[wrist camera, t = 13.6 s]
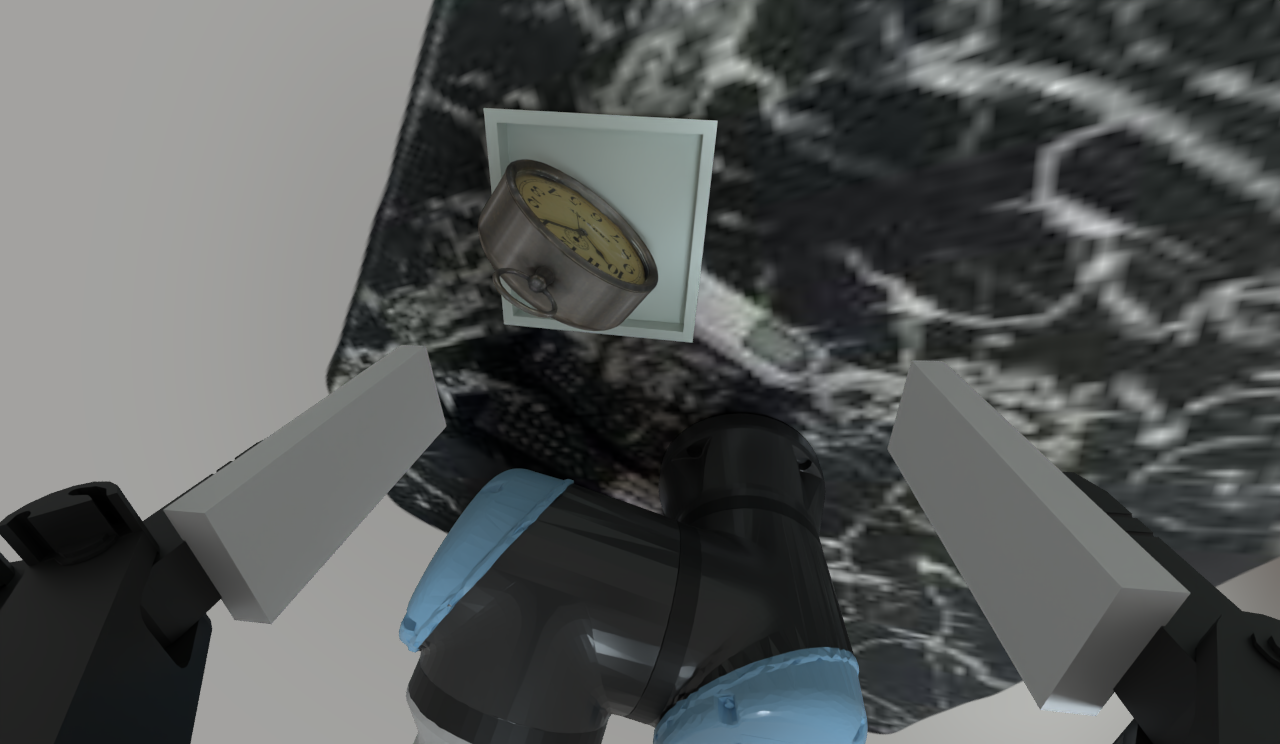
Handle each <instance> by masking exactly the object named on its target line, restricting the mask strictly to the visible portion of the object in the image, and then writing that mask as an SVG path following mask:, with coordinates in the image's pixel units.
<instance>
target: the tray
mask: <svg viewBox="0 0 1280 744" xmlns="http://www.w3.org/2000/svg"><path fill="white" fill-rule="evenodd" d="M484 118H485V129H486V139H487V150H488V160H489V170H490V181H491V191H492V193H493V192H494V190H495V188H496V187H497V185H498V183H499V182H500V180H501V178H502V177H503V175H504V173H505V170H506V168H507V166H508V165H509V164H510V163H511V162H513V161H516V160H521V159H530V160H535V161H539V162H543V163H545V164H548V165H550V166H552V167H554V168H556V169H559V170H560V171H562V172H564V173H565V174H567V175H569V176H571V177H572V178H574V179H576V180H577V181H579V182H580V183H582V184H583V185H585V186H586V187H588V188H589V189H591V190H592V191H593V192H595V193H596V194H597V195H598V196H600V197H601V198H602V199H603V200H604V201H606V202H607V203H608V204H609V205H610V206H611V207H612V208H613V209H615V210H616V211H617V212H618V213H619V214H620V215H621V216H622V217H623V218H624V219H625V220H626V221H627V222H628V223H629V224H630V226H631V227H632V228H633V229H634V230H635V231H636V233H637V234H638V235H639V236H640V238H641V239H642V240H643V242H644V243H645V244H646V246H647V248H648V249H649V251H650V253H651V254H652V256H653V258H654V260H655V263H656V266H657V269H658V283H657V285H656V287H655V288H654V289H653V290H652V291H651V292H650V293H649V294H648V295H647V297H646V298H645V299H644V300H643V301H642V302H641V303H640V304H639V305H638V306H637V308H636V309H635V310H634V311H633V312H632V313H631V314H630V315H629V316H628V317H627V318H626V319H625V320H624V322H623V323H621V324H620V325H619V326H617V327H615V328H612V329H609V330H605V331H588V330H583V329H578V328H574V327H571V326H568V325H566V324H563V323H561V322H559V321H557V320H555V319H553V318H541V317H537V316H533V315H531V314H529V313H526V312H524V311H523V310H521V309H519V308H517V307H516V306H514V305H513V304H511V303H510V302H509V301H507V300H506V299H505V298H504V297H503V296H502V295H501V296H502V306H503V316H504V324H506V325H516V326H526V327H537V328H547V329H557V330H567V331H578V332H588V333H598V334H609V335H619V336H629V337H640V338H650V339H660V340H670V341H681V342H691V343H692V342H693V334H694V325H695V316H696V307H697V298H698V289H699V281H700V272H701V263H702V254H703V245H704V237H705V228H706V219H707V210H708V201H709V193H710V184H711V175H712V166H713V157H714V148H715V140H716V131H717V122H718V121H713V120H695V119H677V118H658V117H640V116H622V115H603V114H585V113H567V112H548V111H530V110H512V109H493V108H484ZM500 281H501V284H502V286H503V287H504V288H505V289H506V291H507V292H508V293H509V294H510V295H511V296H512V297H514V298H515V299H517V300H518V301H520V302H522V303H523V304H525V305H527V306H528V307H530V308H533V309H536V308H534V307H533V306H531V305H530V304H529V303H527V302H526V301H525V300H524V299H522V298H521V297H520V296H519V295H518V294H517V293H516V292H514V291H513V290H512V289H511V288H510V287H509V286H508V285H507V284H506V282H505V281H504V280H503V279H502V278H501V277H500ZM536 310H537V309H536Z"/></svg>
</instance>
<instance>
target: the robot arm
mask: <svg viewBox="0 0 1280 744" xmlns="http://www.w3.org/2000/svg"><path fill="white" fill-rule="evenodd" d="M445 427H446V423H445V419H444V415H443V411H442V407H441V404H440V400H439V396H438V392H437V388H436V384H435V380H434V376H433V372H432V368H431V364H430V361H429V357H428V353H427V349H426V346H413V345H400V346H399V347H398V348H396V349H395V350H393V351H392V352H390V353H389V354H387V355H386V356H385V357H383V358H382V359H380V360H379V361H377V362H376V363H374V364H373V365H372V366H370V367H369V368H367V369H366V370H364V371H363V372H361V373H360V374H358V375H357V376H356V377H354V378H353V379H351V380H350V381H348V382H347V383H345V384H344V385H343V386H341V387H340V388H338V389H337V390H335V391H334V392H332V393H331V394H330V395H328V396H327V397H326V398H324V399H322V400H321V401H319V402H318V403H317V404H315V405H314V406H312V407H311V408H309V409H308V410H306V411H305V412H304V413H302V414H301V415H299V416H298V417H296V418H295V419H294V420H292V421H291V422H289V423H288V424H286V425H285V426H284V427H282V428H281V429H279V430H278V431H276V432H275V433H273V434H272V435H270V436H269V437H267V438H266V439H264V440H262V441H260V442H258V443H256V444H255V445H253V446H252V447H250V448H249V449H247V450H246V451H244V452H243V453H241V454H240V455H239V456H237V457H236V458H235V460H234V461H230V462H228V463H227V464H225V465H224V466H222V467H221V468H220V469H218V470H217V473H215V474H211V475H209V476H208V477H206V478H205V479H204V480H202V481H201V482H199V483H198V484H196V485H195V486H193V487H192V488H191V489H189V490H188V491H186V492H185V493H183V494H182V495H180V496H179V497H177V498H176V499H175V500H173V501H172V502H170V503H169V504H167V505H166V506H164V507H163V508H161V509H160V510H159V511H157V512H156V513H154V514H153V515H151V516H150V517H148V518H147V519H146V520H144V521H142V520H141V519H140V517H139V516H138V514H137V513H136V512H135V510H134V509H133V507H132V506H131V504H130V503H129V502H128V500H127V498H125V496H124V494H123V493H122V491H121V490H120V488H119V487H118V486H117V485H116V484H114V483H111V482H91V483H86V484H81V485H76V486H72V487H69V488H66V489H63V490H60V491H57V492H54V493H51V494H49V495H47V496H44V497H42V498H40V499H38V500H35V501H33V502H31V503H29V504H27V505H25V506H23V507H22V508H20V509H18V510H17V511H15V512H13V513H12V514H10V515H8V516H7V517H6V518H5V519H3V520H2V521H1V522H0V535H1V536H2V537H3V538H4V539H5V540H6V541H7V542H8V544H9V545H10V546H11V547H12V548H13V549H14V550H15V551H16V553H17V554H18V555H19V556H20V557H21V558H22V559H23V560H22V561H16V562H9V561H8V560H7V559H6V558H5V557H4V556H3V555H2V554H1V553H0V744H190V743H191V737H192V732H193V727H194V722H195V716H196V711H197V706H198V701H199V695H200V690H201V685H202V679H203V674H204V669H205V664H206V658H207V653H208V648H209V642H210V637H211V632H212V625H211V620H210V619H209V617H208V616H207V615H206V612H207V611H208V610H209V609H211V607H212V606H214V605H215V604H216V603H217V602H218V601H219V600H220V599H221V600H222V601H223V603H224V604H225V606H226V607H227V609H228V610H229V612H230V613H231V615H232V616H233V618H234V619H235V620H240V621H249V622H258V623H267V624H272V623H273V621H274V620H275V619H276V618H277V617H278V616H279V615H280V613H281V612H282V611H283V610H284V609H285V608H286V607H287V606H288V604H289V603H290V602H291V601H292V600H293V599H294V598H295V597H296V595H297V594H298V593H299V592H300V591H301V590H302V589H303V588H304V586H305V585H306V584H307V583H308V582H309V581H310V580H311V579H312V577H313V576H314V575H315V574H316V573H317V572H318V570H319V569H320V568H321V567H322V566H323V565H324V564H325V563H326V561H327V560H328V559H329V558H330V557H331V556H332V555H333V554H334V553H335V551H336V550H337V549H338V548H339V547H340V546H341V545H342V543H343V542H344V541H345V540H346V539H347V538H348V537H349V536H350V534H351V533H352V532H353V531H354V530H355V529H356V528H357V527H358V525H359V524H360V523H361V522H362V521H363V520H364V519H365V518H366V516H367V515H368V514H369V513H370V512H371V511H372V510H373V509H374V507H375V506H376V505H377V504H378V503H379V502H380V501H381V499H382V498H383V497H384V496H385V495H386V494H387V493H388V492H389V490H390V489H391V488H392V487H393V486H394V485H395V484H396V483H397V481H398V480H399V479H400V478H401V477H402V476H403V475H404V474H405V472H406V471H407V470H408V469H409V468H410V467H411V466H412V464H413V463H414V462H415V461H416V460H417V459H418V458H419V457H420V455H421V454H422V453H423V452H424V451H425V450H426V449H427V448H428V446H429V445H430V444H431V443H432V442H433V441H434V440H435V439H436V437H437V436H438V435H439V434H440V433H441V432H442V431H443V429H444V428H445ZM888 451H889V453H890V454H891V456H892V458H893V459H894V461H895V463H896V465H897V466H898V468H899V470H900V471H901V473H902V475H903V476H904V478H905V480H906V482H907V483H908V485H909V487H910V488H911V490H912V492H913V493H914V495H915V497H916V499H917V500H918V502H919V504H920V505H921V507H922V509H923V511H924V512H925V514H926V516H927V517H928V519H929V521H930V522H931V524H932V526H933V528H934V529H935V531H936V533H937V534H938V536H939V538H940V539H941V541H942V543H943V545H944V546H945V548H946V550H947V551H948V553H949V555H950V557H951V558H952V560H953V562H954V563H955V565H956V567H957V568H958V570H959V572H960V574H961V575H962V577H963V579H964V580H965V582H966V584H967V585H968V587H969V589H970V591H971V592H972V594H973V596H974V597H975V599H976V601H977V603H978V604H979V606H980V608H981V609H982V611H983V613H984V614H985V616H986V618H987V620H988V621H989V623H990V625H991V626H992V628H993V630H994V632H995V633H996V635H997V637H998V638H999V640H1000V642H1001V643H1002V645H1003V647H1004V649H1005V650H1006V652H1007V654H1008V655H1009V657H1010V659H1011V660H1012V662H1013V664H1014V666H1015V667H1016V669H1017V671H1018V672H1019V674H1020V676H1021V678H1022V679H1023V681H1024V683H1025V684H1026V686H1027V688H1028V689H1029V691H1030V693H1031V695H1032V696H1033V698H1034V700H1035V701H1036V703H1037V705H1038V706H1039V708H1040V710H1047V711H1056V712H1065V713H1075V714H1083V715H1092V716H1096V715H1097V714H1098V713H1099V711H1100V710H1101V709H1102V707H1103V706H1104V705H1105V704H1106V702H1107V701H1108V700H1109V698H1110V697H1111V696H1112V694H1113V693H1114V692H1115V693H1116V694H1117V696H1118V697H1119V699H1120V700H1121V701H1122V703H1123V704H1124V705H1125V707H1126V708H1127V709H1128V711H1129V712H1130V713H1131V715H1132V716H1133V717H1134V719H1133V720H1132V721H1131V723H1130V724H1129V725H1128V726H1127V727H1126V729H1125V730H1124V731H1123V732H1122V733H1121V735H1120V736H1119V737H1118V738H1117V739H1116V740H1115V742H1114V743H1113V744H1280V620H1277V619H1275V618H1272V617H1269V616H1266V615H1263V614H1256V613H1250V612H1244V611H1241V610H1240V609H1239V608H1238V607H1237V606H1236V605H1235V604H1233V603H1232V602H1231V601H1230V600H1229V599H1227V597H1226V596H1224V595H1223V594H1222V593H1221V592H1220V591H1219V590H1218V589H1216V588H1215V587H1214V586H1213V585H1212V584H1211V583H1210V582H1209V581H1207V580H1206V579H1205V578H1204V577H1203V576H1202V575H1201V574H1199V573H1198V572H1197V571H1196V570H1195V569H1194V568H1193V567H1192V566H1190V565H1189V564H1188V563H1187V562H1186V561H1185V560H1184V559H1182V558H1181V557H1180V556H1179V555H1178V554H1177V553H1176V552H1175V551H1173V550H1172V549H1171V548H1170V547H1169V546H1168V545H1167V544H1165V543H1164V542H1163V541H1162V540H1161V539H1160V538H1159V537H1154V536H1153V532H1152V531H1151V530H1150V529H1149V528H1147V527H1146V526H1145V525H1144V524H1143V523H1142V522H1141V521H1139V520H1138V519H1137V518H1132V513H1130V512H1129V511H1128V510H1127V509H1126V508H1125V507H1124V506H1122V505H1121V504H1120V503H1119V502H1118V501H1117V500H1116V499H1115V498H1113V497H1112V496H1111V495H1110V494H1109V493H1108V492H1106V491H1105V490H1103V489H1101V488H1100V487H1098V486H1096V485H1094V484H1093V483H1091V482H1089V481H1088V480H1086V479H1084V478H1082V477H1081V476H1079V475H1077V474H1076V473H1073V472H1061V471H1060V470H1059V469H1058V468H1057V467H1056V466H1055V465H1054V464H1053V463H1052V462H1051V461H1050V460H1048V459H1047V458H1046V457H1045V456H1044V455H1043V454H1042V453H1041V452H1040V451H1039V450H1038V449H1037V448H1036V447H1035V446H1034V445H1032V444H1031V443H1030V442H1029V441H1028V440H1027V439H1026V438H1025V437H1024V436H1023V435H1022V434H1021V433H1020V432H1019V431H1018V430H1016V429H1015V428H1014V427H1013V426H1012V425H1011V424H1010V423H1009V422H1008V421H1007V420H1006V419H1005V418H1004V417H1003V416H1002V415H1001V414H999V413H998V412H997V411H996V410H995V409H994V408H993V407H992V406H991V405H990V404H989V403H988V402H987V401H986V400H985V399H983V398H982V397H981V396H980V395H979V394H978V393H977V392H976V391H975V390H974V389H973V388H972V387H971V386H970V385H969V384H967V383H966V382H965V381H964V380H963V379H962V378H961V377H960V376H959V375H958V374H957V373H956V372H955V371H954V370H953V369H952V368H950V367H949V366H948V365H947V364H946V363H945V362H944V361H915V360H911V364H910V368H909V371H908V375H907V379H906V383H905V386H904V390H903V394H902V397H901V401H900V405H899V408H898V412H897V416H896V420H895V423H894V427H893V431H892V434H891V438H890V442H889V445H888ZM659 496H660V501H661V505H662V508H663V511H664V514H665V516H663V515H660V514H658V513H655V512H652V511H649V510H646V509H643V508H641V507H638V506H635V505H632V504H629V503H627V502H624V501H621V500H618V499H615V498H612V497H610V496H607V495H604V494H601V493H598V492H596V491H593V490H590V489H587V488H584V487H581V486H579V485H576V484H574V481H573V480H570V479H566V480H561V479H558V478H554V477H551V476H547V475H544V474H541V473H537V472H534V471H530V470H527V469H510V470H507V471H504V472H502V473H500V474H499V475H497V476H496V477H494V478H493V479H492V480H491V481H489V482H488V483H487V484H486V485H485V486H484V487H483V488H482V489H481V490H480V492H479V493H478V494H477V495H476V496H475V498H474V499H473V500H472V501H471V502H470V504H469V505H468V506H467V508H466V509H465V510H464V512H463V513H462V514H461V516H460V517H459V518H458V520H457V521H456V523H455V524H454V526H453V527H452V529H451V530H450V531H449V533H448V535H447V536H446V538H445V539H444V541H443V542H442V544H441V545H440V547H439V549H438V550H437V552H436V554H435V555H434V557H433V558H432V560H431V562H430V563H429V565H428V567H427V569H426V571H425V572H424V574H423V576H422V578H421V580H420V581H419V584H418V585H417V587H416V589H415V591H414V593H413V595H412V597H411V600H410V602H409V604H408V608H407V613H406V615H405V617H404V619H403V621H402V622H401V626H400V630H399V637H400V640H401V641H402V642H403V643H404V644H406V645H407V646H408V649H409V651H412V652H417V651H421V656H420V659H419V661H418V663H417V666H416V668H415V670H414V673H413V675H412V677H411V680H410V682H409V684H408V687H407V692H406V699H407V702H408V705H409V708H410V710H411V713H412V715H413V718H414V721H415V723H416V726H417V729H418V734H417V736H416V739H415V741H414V743H413V744H601V742H602V739H603V736H604V732H605V729H606V725H607V722H608V719H609V717H610V716H611V714H615V715H620V716H623V717H626V718H629V719H632V720H635V721H638V722H642V723H644V724H648V725H651V726H653V727H655V730H654V739H653V744H865V742H866V738H867V717H866V712H865V708H864V703H863V698H862V694H861V689H860V684H859V679H858V673H859V666H858V663H857V661H856V657H854V654H853V651H852V647H851V644H850V641H849V637H848V634H847V631H846V627H845V624H844V620H843V617H842V614H841V610H840V607H839V604H838V600H837V597H836V593H835V590H834V587H833V583H832V580H831V577H830V573H829V570H828V566H827V563H826V560H825V556H824V553H823V550H822V546H821V543H820V539H819V533H820V526H821V520H822V513H823V507H824V500H825V482H824V477H823V473H822V470H821V467H820V464H819V461H818V458H817V456H816V454H815V452H814V450H813V448H812V447H811V445H810V444H809V443H808V442H807V441H806V439H805V438H804V437H803V436H802V435H800V434H799V433H798V432H797V431H795V430H794V429H793V428H791V427H789V426H788V425H786V424H784V423H782V422H779V421H777V420H775V419H772V418H768V417H765V416H760V415H754V414H742V413H737V414H725V415H719V416H715V417H711V418H708V419H705V420H703V421H700V422H698V423H696V424H694V425H692V426H691V427H689V428H687V429H686V430H685V431H683V432H682V433H681V434H680V435H679V436H677V437H676V439H675V440H674V441H673V442H672V443H671V444H670V446H669V447H668V449H667V451H666V453H665V455H664V457H663V460H662V464H661V470H660V478H659Z"/></svg>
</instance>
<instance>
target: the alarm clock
mask: <svg viewBox="0 0 1280 744" xmlns="http://www.w3.org/2000/svg"><path fill="white" fill-rule="evenodd" d="M478 232H479V238H480V241H481V244H482V247H483V250H484V252H485V254H486V256H487V258H488V260H489V261H490V263H491V265H492V266H493V268H494V269H495V272H494V273H493V282H494V285H495V287H496V289H497V291H498V292H499V293H500V294H501V295H502V296H503V297H504V298H505V299H506V300H507V301H509V302H510V303H511V304H513V305H514V306H516V307H517V308H519V309H521V310H523V311H524V312H526V313H529V314H531V315H533V316H537V317H541V318H553V319H555V320H557V321H559V322H561V323H563V324H566V325H568V326H571V327H574V328H578V329H583V330H588V331H605V330H609V329H612V328H615V327H617V326H619V325H620V324H621V323H623V322H624V320H625V319H626V318H627V317H628V316H629V315H630V314H631V313H632V312H633V311H634V310H635V309H636V308H637V306H638V305H639V304H640V303H641V302H642V301H643V300H644V299H645V298H646V297H647V295H648V294H649V293H650V292H651V291H652V290H653V289H654V288H655V287H656V285H657V283H658V269H657V266H656V263H655V260H654V258H653V256H652V254H651V253H650V251H649V249H648V248H647V246H646V244H645V243H644V242H643V240H642V239H641V238H640V236H639V235H638V234H637V233H636V231H635V230H634V229H633V228H632V227H631V226H630V224H629V223H628V222H627V221H626V220H625V219H624V218H623V217H622V216H621V215H620V214H619V213H618V212H617V211H616V210H615V209H613V208H612V207H611V206H610V205H609V204H608V203H607V202H606V201H604V200H603V199H602V198H601V197H600V196H598V195H597V194H596V193H595V192H593V191H592V190H591V189H589V188H588V187H586V186H585V185H583V184H582V183H580V182H579V181H577V180H576V179H574V178H572V177H571V176H569V175H567V174H565V173H564V172H562V171H560V170H559V169H556V168H554V167H552V166H550V165H548V164H545V163H543V162H539V161H535V160H530V159H521V160H516V161H513V162H511V163H510V164H509V165H508V166H507V168H506V170H505V173H504V175H503V177H502V178H501V180H500V182H499V183H498V185H497V187H496V188H495V190H494V192H493V193H492V195H491V197H490V198H489V200H488V202H487V203H486V205H485V207H484V208H483V210H482V212H481V214H480V217H479V221H478ZM500 277H501V278H502V279H503V280H504V281H505V282H506V284H507V285H508V286H509V287H510V288H511V289H512V290H513V291H514V292H516V293H517V294H518V295H519V296H520V297H521V298H522V299H524V300H525V301H526V302H527V303H529V304H530V305H531V306H533V307H534V308H536V309H537V310H536V309H533V308H530V307H528V306H527V305H525V304H523V303H522V302H520V301H518V300H517V299H515V298H514V297H512V296H511V295H510V294H509V293H508V292H507V291H506V289H505V288H504V287H503V286H502V284H501V281H500Z"/></svg>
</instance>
